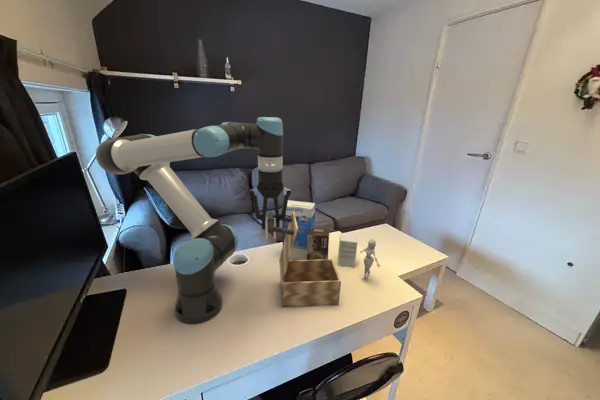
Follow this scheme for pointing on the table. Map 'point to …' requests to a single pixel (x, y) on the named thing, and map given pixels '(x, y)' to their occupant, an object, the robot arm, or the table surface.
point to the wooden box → (310, 284)
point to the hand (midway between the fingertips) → (270, 237)
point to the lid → (288, 240)
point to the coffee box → (317, 244)
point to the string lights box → (300, 226)
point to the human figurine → (369, 258)
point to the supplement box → (347, 250)
